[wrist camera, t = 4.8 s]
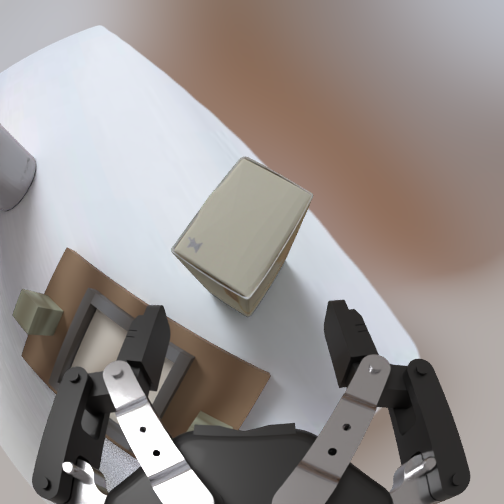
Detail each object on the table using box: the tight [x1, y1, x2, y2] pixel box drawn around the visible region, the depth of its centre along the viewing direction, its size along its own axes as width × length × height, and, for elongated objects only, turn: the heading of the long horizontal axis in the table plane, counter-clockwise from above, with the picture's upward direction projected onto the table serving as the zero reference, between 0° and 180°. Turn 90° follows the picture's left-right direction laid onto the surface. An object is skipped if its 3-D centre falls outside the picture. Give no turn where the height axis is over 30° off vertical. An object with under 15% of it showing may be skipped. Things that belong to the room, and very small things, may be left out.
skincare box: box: [171, 157, 313, 317], centre depth 18 cm, size 6×4×12 cm
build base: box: [13, 247, 270, 460], centre depth 19 cm, size 23×14×6 cm, turn 62°
